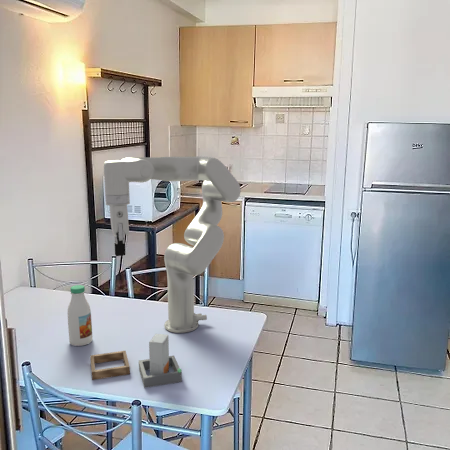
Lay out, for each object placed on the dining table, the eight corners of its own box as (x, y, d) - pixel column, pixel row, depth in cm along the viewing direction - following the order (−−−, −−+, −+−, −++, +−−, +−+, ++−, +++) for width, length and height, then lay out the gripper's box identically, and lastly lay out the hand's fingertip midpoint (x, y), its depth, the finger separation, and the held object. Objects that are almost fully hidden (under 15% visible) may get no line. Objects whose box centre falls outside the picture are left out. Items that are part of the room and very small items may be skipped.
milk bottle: (71, 348, 162) (67, 292, 158) (67, 339, 169) (63, 285, 165) (94, 343, 166) (91, 288, 161) (90, 335, 172) (86, 281, 168)
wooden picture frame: (125, 357, 156) (125, 350, 155) (129, 374, 146) (129, 366, 145) (90, 362, 153) (90, 355, 152) (92, 380, 142) (91, 372, 142)
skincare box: (163, 381, 142) (162, 343, 139) (149, 379, 143) (148, 342, 140) (169, 370, 148) (168, 334, 145) (156, 369, 148) (155, 333, 146)
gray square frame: (174, 364, 152) (174, 352, 151) (182, 381, 141) (182, 369, 140) (139, 369, 148) (138, 357, 147) (144, 388, 138) (143, 375, 137)
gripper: (132, 202, 147) (134, 260, 151) (126, 195, 161) (129, 248, 165) (107, 203, 145) (110, 262, 149) (103, 196, 159) (106, 250, 163)
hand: (120, 255), depth 157 cm, fingers closed
